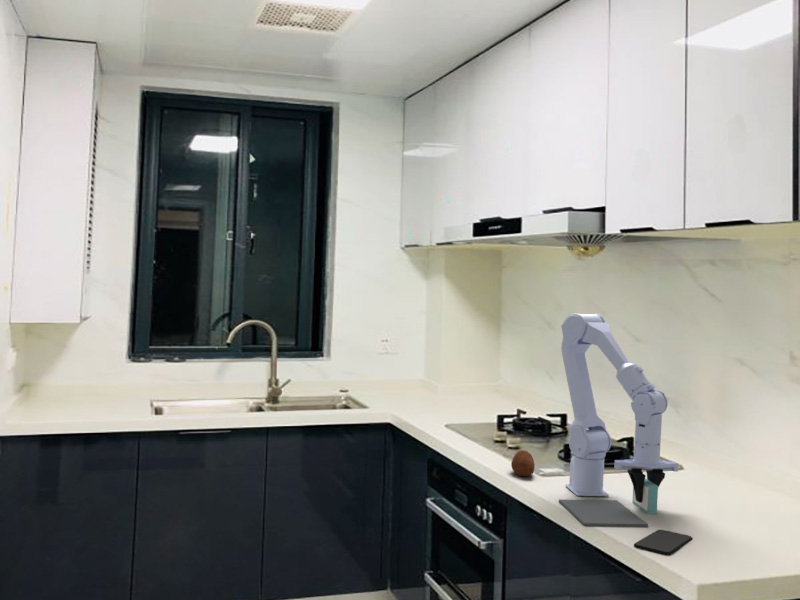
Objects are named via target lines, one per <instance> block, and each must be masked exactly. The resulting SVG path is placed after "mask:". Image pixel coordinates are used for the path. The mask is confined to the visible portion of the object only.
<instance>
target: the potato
mask: <svg viewBox="0 0 800 600" xmlns="http://www.w3.org/2000/svg"><path fill="white" fill-rule="evenodd" d="M510 465H511V466H510V467H511V469H512V471H513V472H514V473H515V474H516V475H517V476H520V477H531V476H532V475H533V474H534V471H535V460H534V458H533V456H532V454H531V453H530V452H528V451H527V450H524V449H522V450H519V451H517V452H516V453H515V454H514V455H513V458H512V459H511V464H510Z"/></svg>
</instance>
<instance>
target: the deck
mask: <svg viewBox="0 0 800 600" xmlns="http://www.w3.org/2000/svg"><path fill="white" fill-rule="evenodd" d="M658 493H659V487H658V486H657V485H656V484H654V483H652V482H651V481H649V480H647V477H645V480H644V486H643V500H642V502H638V501H636V497H635V491H634V487H633V486H632V504H633V505H634V506H636V507H637V508H639V509H640V510H642V511H643V512H645V513H646V514H647V515H657V511H658V495H659V494H658Z"/></svg>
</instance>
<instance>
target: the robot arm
mask: <svg viewBox="0 0 800 600" xmlns="http://www.w3.org/2000/svg"><path fill="white" fill-rule="evenodd" d="M560 327H561V333H562V341H561V348H560V349H561V350H560V351H561V357H562V360H563V365H564V371H565V377H566V382H567V386H568V391H569V396H570V402H571V407H572V411H573V418H574V419H573V421H572V422H571V424H570V426H569V428H568V430H569V438H568V445H569V446H568V447H569V449H570V451H571V453H572V457H571V459H570V463H569V481H568V482H569V483H566V484H565V487H566V488H567V489H568V490H570V491H571V492H572V493H573V494H574V495H576V496H577V497H582V496H583V497H609V495H610V494H609V493H607V492H606V491H605V490H604V475H605V473H604V470H605V457H606V455H607V452H608V451H609V450H610V449H611V446H612V437H611V435H610V433H609V431H608V430H607V428H606V423H605V422H604V420H603V419H602V418H600V417H599V416H598V414H597V408H596V402H595V399H594V393H593V389H592V385H591V384H592V383H591V379H590V374H589V368H588V363H587V358H586V352H587V351H588V349H589V348H590V347H591V346H592V345H594V346H597V347H598V348H599V350H600V351H601V352H602V354H603V355H604V356H605V357H606V359H607V360H608V361H609V362H610V363H611V365H612V366H613V367H614V368H615V369H616V375H615V376H616V377H615V378H616V380H617V381H618V382H619V384H620V385H621V387H622V388H623V390H624V391H625V392H626V394H627V395H628V397H629V398H630V399H631V402H630V407H631V410H632V412H633V413H634V421H635V426H634V446H633V447H634V448H633V458H630V459H615V460H614V470H616V471H623V470H624V471H626V470H627V473H628V475H629V478H630V480H631V483H632V488H633V487H634V491H635V497H636V501H638V502H642V500H643V486H644V480H645V478H646V479H647V480H649V481H651V482H652V483H654V484H656V485H657V486H658V488H659V487H660V485H661V484H662V482H663V480H664V479H665V477H666V472H667V471H670V472H675V473H676V472H677V473H678V472H679V463H678V462H676V461H672V460H671V461H670V460H661V443H662V442H661V440H662V438H661V437H662V421H663V420H662V418H663V414H664V413H665V412H666V411H667V408H668V398H667V397H666V394H665V393H664V391H662V390H660V389H656V388H655V385H654V384H653V383H651V382H650V381H649V379H648V378H647V377H646V375H645V373H644V369H643V367H642V366H638V364H637V363H631V362H630V361H629V360H628V358H627V357H626V355H625V353H624V351H623V350H622V348H621V346H620V345H619V344H618V342H617V340H616V339H615V337H614V335H613V334H612V332H611V326H610V325H609V324H608V322H606V320H605V318H604V317H603V316H602V315H601V314H599V313H591V314H589V313H586V314H585V313H581V314H580V313H575V312H574V313H571V314H569V315H568V316H566V318H565V319H564V321H563V322H562V324H561V326H560ZM643 471H646V474H645V473H644V472H643ZM664 471H665V472H664Z"/></svg>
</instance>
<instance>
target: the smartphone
mask: <svg viewBox="0 0 800 600" xmlns="http://www.w3.org/2000/svg"><path fill="white" fill-rule="evenodd" d="M692 540H693V536H691V535H687V534H683V533H678V532H675V531H669V530H665V529H657V530H655V531H654V532H652V533H650V534H648V535H646V536H645V537H643V538H641V539H639V540H638V541H636V542H635V543H634V544H633V547H634V548H636V549H638V550H641V551H642V550H643V551H646V552H651V553H654V554H659V555H662V556H672V555H673V554H675V553H677V552H678V551H679V550H680V549H681V548H683V547H684V546H685V545H687V544H688V543H690V542H691V541H692Z"/></svg>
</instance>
